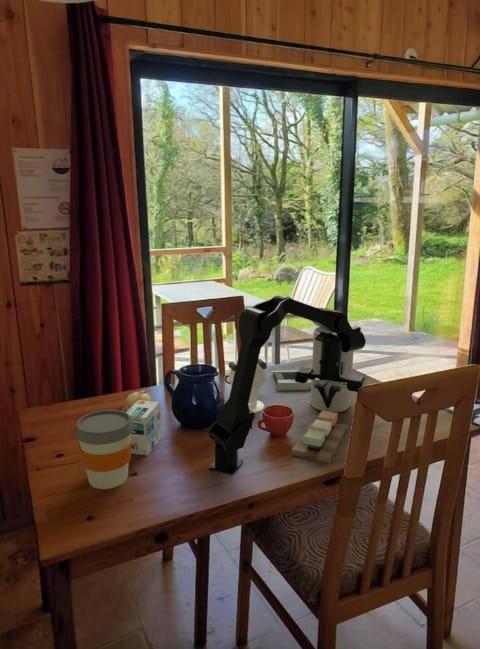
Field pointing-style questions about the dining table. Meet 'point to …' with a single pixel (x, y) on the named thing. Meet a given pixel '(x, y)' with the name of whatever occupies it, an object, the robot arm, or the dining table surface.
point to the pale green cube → (314, 438)
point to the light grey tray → (290, 381)
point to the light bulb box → (145, 426)
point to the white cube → (322, 426)
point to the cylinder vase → (340, 398)
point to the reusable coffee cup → (105, 447)
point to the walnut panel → (326, 448)
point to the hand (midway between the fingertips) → (328, 407)
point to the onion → (136, 398)
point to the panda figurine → (257, 384)
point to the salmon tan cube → (328, 417)
